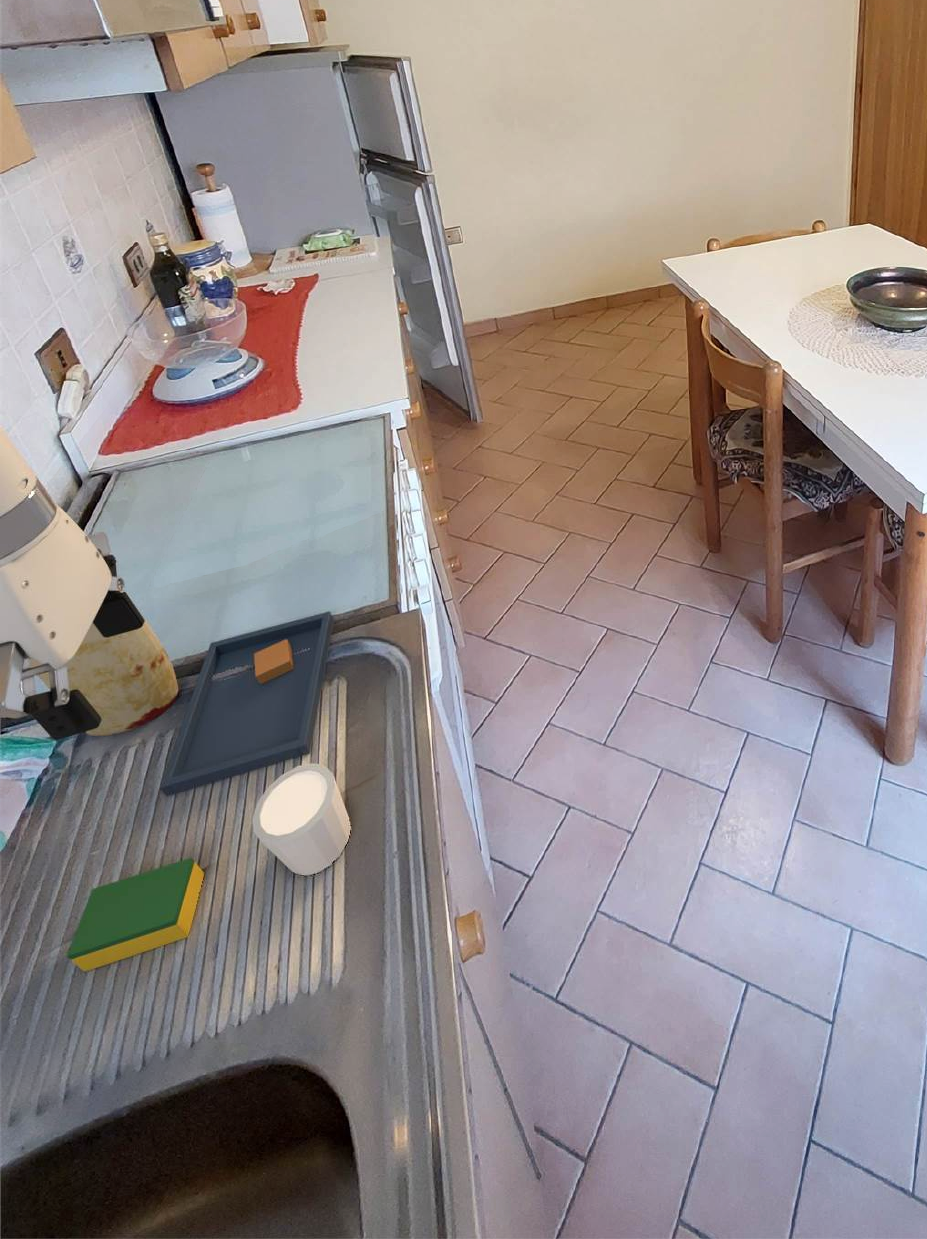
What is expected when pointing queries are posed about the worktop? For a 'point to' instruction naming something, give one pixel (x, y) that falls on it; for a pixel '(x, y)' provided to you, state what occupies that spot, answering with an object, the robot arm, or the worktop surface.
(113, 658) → the food model
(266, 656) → the orange flat block
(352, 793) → the worktop surface
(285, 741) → the tray
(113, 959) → the sponge
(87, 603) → the robot arm
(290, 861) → the white cylinder
